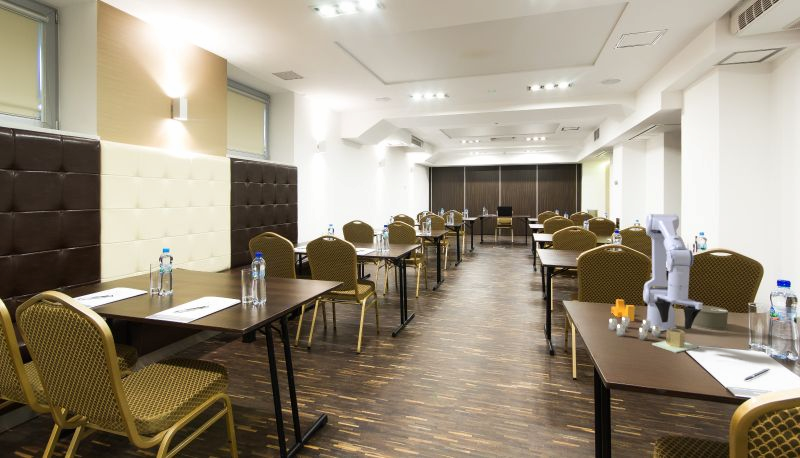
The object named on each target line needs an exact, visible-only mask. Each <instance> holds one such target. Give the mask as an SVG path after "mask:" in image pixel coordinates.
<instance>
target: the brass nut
mask: <svg viewBox="0 0 800 458" xmlns="http://www.w3.org/2000/svg"><path fill="white" fill-rule="evenodd" d="M685 335H686V332H685V331H684V330H682V329H679V328H675V329H673V328H670V329H667V330H666V335H665V336H666V338H665V339H666V340H665V341H666V344H668V345H669V346H672V347H678V348H681V347H684V342H685V337H686V336H685Z"/></svg>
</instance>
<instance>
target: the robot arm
mask: <svg viewBox="0 0 800 458" xmlns="http://www.w3.org/2000/svg"><path fill="white" fill-rule="evenodd" d="M679 225H680V217H679V216H678V214H676V213H674V214H673V213H669V214H664V213H663V214H660V213H659V214H658V213H656V214H655V213H653V214H652V213H648V215H646V218H645V232H646V233H645V234H646V236H648V237H650V239H651V264H652V265H651V267H652V268H651V272H652V273H651V279H649V280H648V281H646V282H645V283H644V285H643V291H642V297H643V299H642V300H643V301H644V303H646V304H647V312H646V319H647V320H650V321H651V326H650V329H652V325H659V326H661V330H660V332H664V331H667V329H670V328H673V329H678V328H677V326H675V322H676V321H675V317H676V311H675V309H674V307H673V305H674V304H676V305H680V306H684V307H683V308H682V310H683V313H684V329H685V330H689V329H692V326H693V325H692V324H693V321H694V319H695V317H696V316H697V314H698V313H699V312H700V310H701V309H702V306H703V305H704V303H703V302H701V301H700V302H699V301H696V300H693V299H690V298H689V284H690V270H691V269H690V268H691V267H693V263H694V254H693V250H691V249H689V248H687V246H686V245H685V242H684V240H683V238H682V237H681V236H679V235H677V234H678V232H677V230H678V228H679ZM667 271H668V274H667ZM667 275H668V276H667ZM667 277H668V278H667ZM642 324H643V323H641V326H642Z"/></svg>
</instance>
